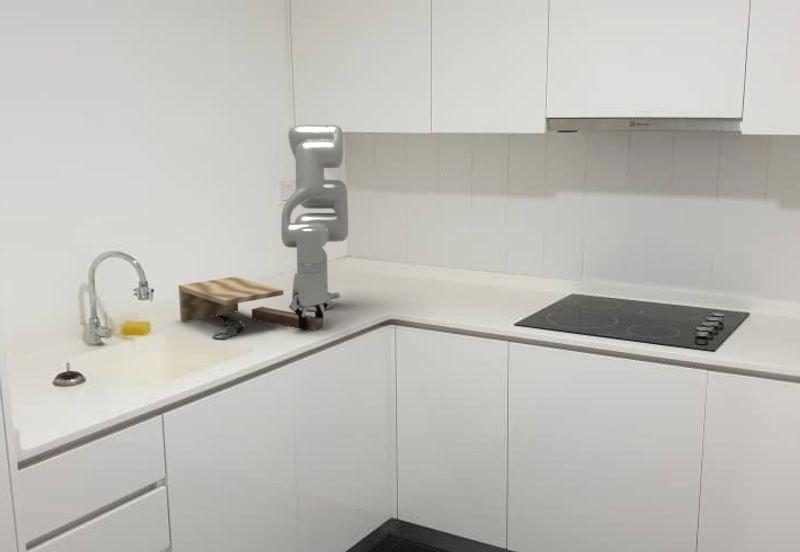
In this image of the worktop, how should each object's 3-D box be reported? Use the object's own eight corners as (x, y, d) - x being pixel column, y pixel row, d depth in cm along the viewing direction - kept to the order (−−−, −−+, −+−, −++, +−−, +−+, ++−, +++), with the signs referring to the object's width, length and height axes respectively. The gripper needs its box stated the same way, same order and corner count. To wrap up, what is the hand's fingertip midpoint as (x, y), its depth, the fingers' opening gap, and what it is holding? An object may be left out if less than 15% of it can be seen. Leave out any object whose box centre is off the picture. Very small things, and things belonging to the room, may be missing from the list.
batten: (262, 306, 265) (251, 309, 262) (322, 318, 250) (312, 321, 246) (262, 316, 266) (252, 319, 262) (322, 328, 250) (312, 331, 247)
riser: (236, 310, 273) (234, 276, 270) (284, 327, 252) (283, 290, 250) (180, 321, 260) (178, 285, 257) (226, 339, 239) (224, 300, 237)
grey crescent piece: (213, 314, 265) (244, 310, 266) (213, 318, 265) (245, 315, 267) (207, 338, 238) (242, 335, 239) (208, 343, 238) (243, 340, 239)
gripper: (325, 263, 255) (326, 320, 258) (278, 270, 244) (280, 329, 247) (340, 266, 249) (341, 324, 253) (293, 273, 238) (295, 334, 242)
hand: (311, 326), depth 250 cm, fingers closed on batten, 5 cm apart
